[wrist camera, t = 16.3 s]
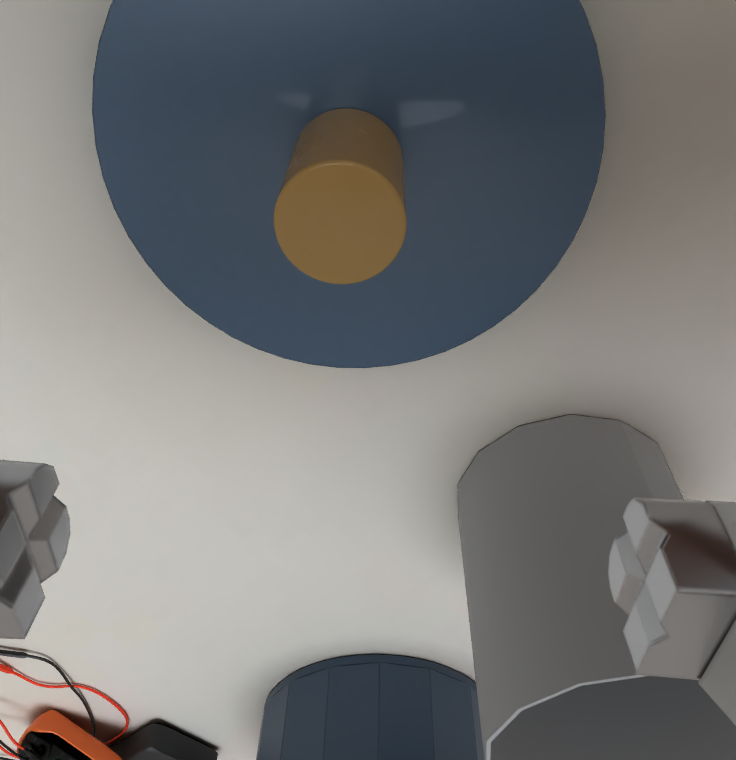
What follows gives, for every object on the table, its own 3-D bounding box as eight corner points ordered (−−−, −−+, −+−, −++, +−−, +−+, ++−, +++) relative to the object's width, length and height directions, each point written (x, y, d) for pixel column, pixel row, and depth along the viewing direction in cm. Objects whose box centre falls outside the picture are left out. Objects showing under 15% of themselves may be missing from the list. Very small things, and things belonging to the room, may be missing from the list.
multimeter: (-170, 682, 37) (-214, 747, 35) (-42, 601, 33) (-81, 668, 30) (97, 803, 46) (78, 864, 43) (228, 752, 41) (216, 816, 38)
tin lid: (594, -222, 15) (673, -253, 11) (597, 316, 23) (642, 416, 19) (12, -75, 17) (-111, -55, 13) (201, 376, 25) (164, 478, 20)
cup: (535, 589, 31) (586, 840, 23) (413, 493, 28) (424, 749, 20) (711, 500, 28) (843, 760, 20) (595, 377, 24) (699, 632, 16)
